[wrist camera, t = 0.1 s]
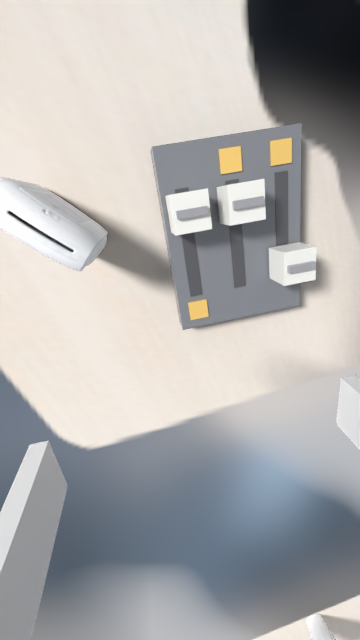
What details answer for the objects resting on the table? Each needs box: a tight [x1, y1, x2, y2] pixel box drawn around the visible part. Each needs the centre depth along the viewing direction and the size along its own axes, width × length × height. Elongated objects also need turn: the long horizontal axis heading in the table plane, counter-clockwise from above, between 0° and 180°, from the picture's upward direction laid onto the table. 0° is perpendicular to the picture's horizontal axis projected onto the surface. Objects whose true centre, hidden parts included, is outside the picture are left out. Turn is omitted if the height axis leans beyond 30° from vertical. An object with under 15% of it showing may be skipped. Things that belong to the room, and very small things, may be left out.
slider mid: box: [217, 179, 266, 226], centre depth 31 cm, size 4×4×5 cm
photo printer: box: [0, 177, 108, 271], centre depth 29 cm, size 10×4×12 cm, turn 54°
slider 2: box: [269, 242, 317, 286], centre depth 35 cm, size 4×4×5 cm
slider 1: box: [165, 188, 212, 236], centre depth 31 cm, size 4×4×5 cm
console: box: [151, 124, 301, 330], centre depth 37 cm, size 22×17×3 cm
